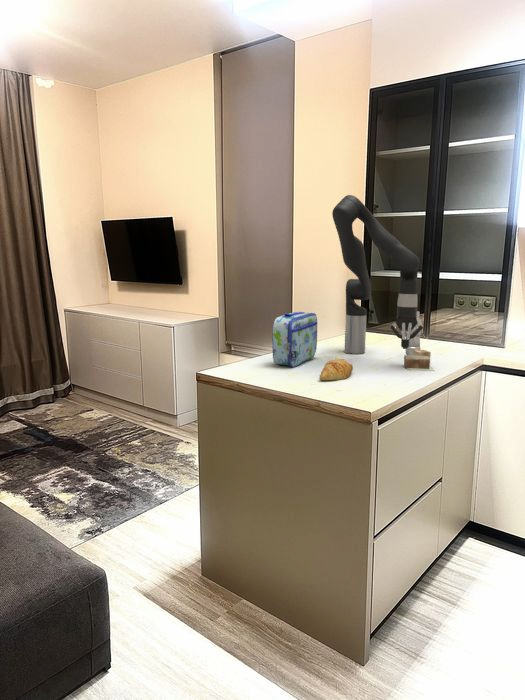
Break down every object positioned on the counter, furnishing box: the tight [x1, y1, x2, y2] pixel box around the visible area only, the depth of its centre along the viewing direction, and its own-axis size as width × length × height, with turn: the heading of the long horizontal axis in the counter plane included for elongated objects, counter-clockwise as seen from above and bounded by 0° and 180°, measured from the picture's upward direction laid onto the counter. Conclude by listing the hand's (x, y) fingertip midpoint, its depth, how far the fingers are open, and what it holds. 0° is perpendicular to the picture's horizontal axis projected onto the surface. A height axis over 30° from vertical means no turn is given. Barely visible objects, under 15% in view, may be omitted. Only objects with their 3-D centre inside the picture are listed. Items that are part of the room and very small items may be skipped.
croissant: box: [319, 358, 354, 381], centre depth 192 cm, size 21×10×8 cm, turn 142°
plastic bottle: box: [404, 310, 423, 356], centre depth 228 cm, size 6×7×20 cm
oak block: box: [414, 349, 432, 359], centre depth 217 cm, size 5×5×5 cm
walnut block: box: [403, 354, 431, 369], centre depth 208 cm, size 4×6×9 cm
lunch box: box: [271, 311, 318, 368], centre depth 215 cm, size 26×11×21 cm, turn 150°
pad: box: [406, 364, 435, 372], centre depth 208 cm, size 10×10×1 cm
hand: (404, 348), depth 208 cm, fingers closed
